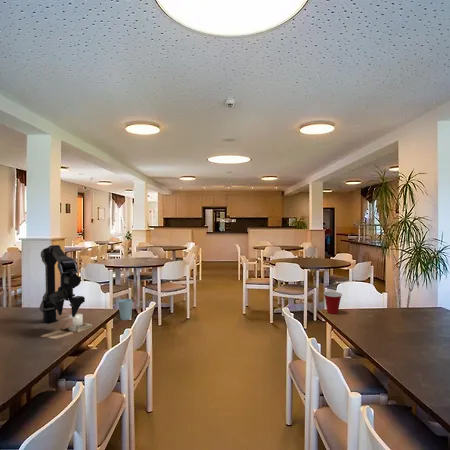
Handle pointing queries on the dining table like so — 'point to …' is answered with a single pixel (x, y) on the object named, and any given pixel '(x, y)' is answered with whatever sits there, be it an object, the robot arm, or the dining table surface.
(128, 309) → the cup
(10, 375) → the dining table surface
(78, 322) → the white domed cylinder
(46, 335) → the coaster
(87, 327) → the beige u-shaped bar frame
